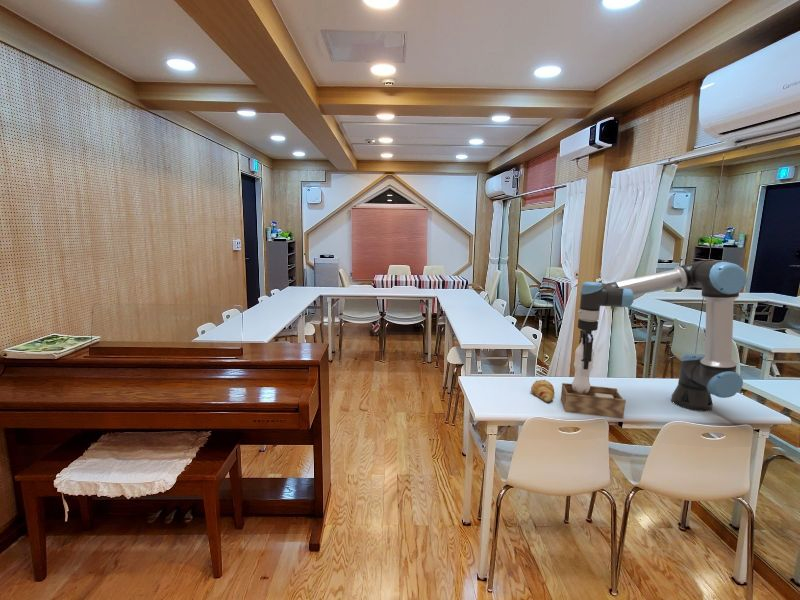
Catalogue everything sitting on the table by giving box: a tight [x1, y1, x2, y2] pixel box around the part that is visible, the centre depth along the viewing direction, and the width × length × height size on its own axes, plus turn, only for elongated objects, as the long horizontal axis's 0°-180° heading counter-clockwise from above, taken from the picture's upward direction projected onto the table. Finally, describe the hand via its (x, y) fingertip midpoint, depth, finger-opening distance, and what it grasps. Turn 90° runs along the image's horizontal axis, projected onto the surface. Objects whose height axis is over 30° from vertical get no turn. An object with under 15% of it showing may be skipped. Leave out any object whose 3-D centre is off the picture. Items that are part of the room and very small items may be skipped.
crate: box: [560, 382, 626, 420], centre depth 173 cm, size 22×13×9 cm, turn 76°
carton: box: [594, 393, 614, 398], centre depth 172 cm, size 7×10×5 cm
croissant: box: [530, 379, 556, 403], centre depth 190 cm, size 21×10×8 cm, turn 176°
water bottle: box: [571, 338, 595, 393], centre depth 172 cm, size 7×7×25 cm
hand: (582, 373), depth 172 cm, fingers closed on water bottle, 7 cm apart
